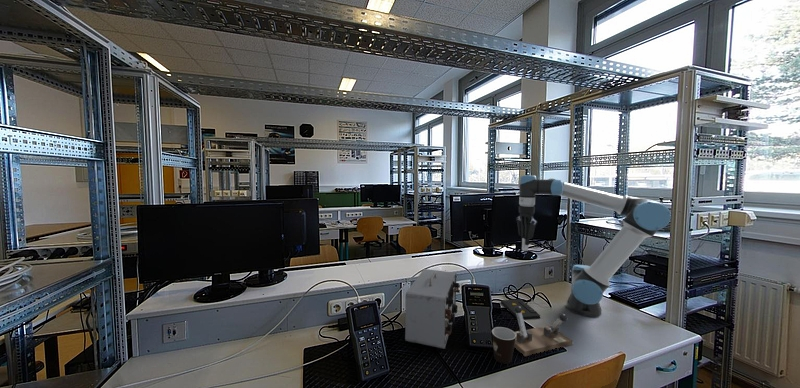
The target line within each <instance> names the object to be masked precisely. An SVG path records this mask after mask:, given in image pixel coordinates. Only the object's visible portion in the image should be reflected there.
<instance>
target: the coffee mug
mask: <svg viewBox="0 0 800 388" xmlns="http://www.w3.org/2000/svg"><path fill="white" fill-rule="evenodd" d="M490 329H491V336H492V346H493V348H492V349H493V358H494V360H495V361H497V362H499V363H500V364H505V365H509V364H511V363H512V361H513V357H514V356H513V355H514V349H515V348H514V345H515V339H516V334H515V333H514V332H515V331H514V330H512V329H510V328H508V327H502V326H495V327H494V326H492V327H491V328H490Z"/></svg>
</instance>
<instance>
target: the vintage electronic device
mask: <svg viewBox="0 0 800 388" xmlns="http://www.w3.org/2000/svg"><path fill="white" fill-rule="evenodd" d="M460 287H461V286H460V283H459V282H457V272H453V271H446V270H437V269H427V268H423V269H422V271H421V272H420V273H419V275H418V276H417V278H416V279H415V280H414V282H413V283H412V284H411V285H410V287H409V288H408V290H407V291H406V292H405V305H404V306H405V307H404V308H405V312H404V313H405V317H404V318H405V319H404V321H405V322H404V323H405V332H404V333H405V334H404V340H405V341H406V342H408V343H410V344H419V345H420V344H421V345H425V346H429V347H435V348H437V349H438V350H442V349H446V346H447V343H448V340H449V336H450V335H451V334H452V332H453V331H452V330H453V327H452V326H453V324H454V323H455V321H456V314H457V313H458V305H457V293H459V294H460V292H461V291H460V289H459V288H460ZM457 288H458V289H457Z"/></svg>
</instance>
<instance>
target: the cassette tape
mask: <svg viewBox="0 0 800 388" xmlns="http://www.w3.org/2000/svg"><path fill="white" fill-rule="evenodd" d="M500 304H502V306H503V307H504V308H506V309H507V310H508V311H509V312H510V314H511V315H513V316H514V318H516V319H517V315H516V312H515V311H514V308H515V307H516V306H520V307H521V309H522V316H523V320H533V319H534V320H536V319H541V314H539V313H538V312H537V311H536V310H535V309H534V308H532V306H530V305H529V304H527V303H526V302H525V301H524V300H522V299H521V298H517V299H502V300H500Z"/></svg>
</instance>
